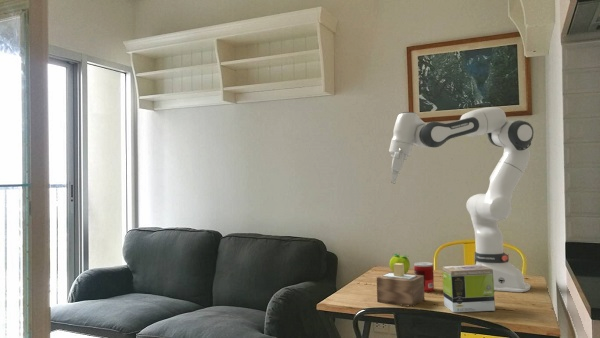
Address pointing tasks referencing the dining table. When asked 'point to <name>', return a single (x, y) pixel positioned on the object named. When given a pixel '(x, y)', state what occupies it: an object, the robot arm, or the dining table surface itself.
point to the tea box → (468, 288)
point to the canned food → (425, 274)
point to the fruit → (400, 260)
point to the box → (400, 290)
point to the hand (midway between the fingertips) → (393, 183)
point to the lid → (399, 272)
